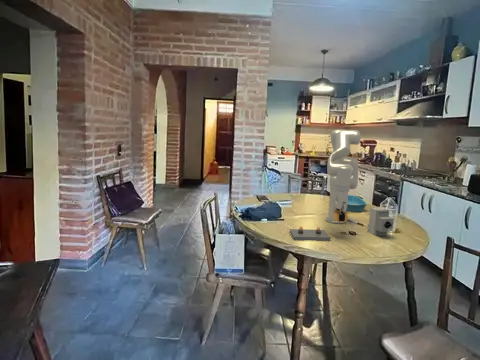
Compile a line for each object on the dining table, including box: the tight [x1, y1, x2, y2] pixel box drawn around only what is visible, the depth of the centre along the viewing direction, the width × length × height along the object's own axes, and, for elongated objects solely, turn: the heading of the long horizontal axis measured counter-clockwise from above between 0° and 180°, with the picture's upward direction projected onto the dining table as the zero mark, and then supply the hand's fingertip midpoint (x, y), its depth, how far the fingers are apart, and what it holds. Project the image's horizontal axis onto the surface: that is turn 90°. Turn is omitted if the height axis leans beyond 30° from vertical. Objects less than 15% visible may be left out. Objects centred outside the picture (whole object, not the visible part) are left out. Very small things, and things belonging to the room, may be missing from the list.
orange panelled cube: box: [333, 210, 348, 223], centre depth 196 cm, size 6×6×5 cm
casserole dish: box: [346, 194, 367, 213], centre depth 271 cm, size 37×22×7 cm, turn 177°
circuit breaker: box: [366, 206, 395, 237], centre depth 202 cm, size 8×14×15 cm, turn 15°
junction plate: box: [289, 226, 331, 242], centre depth 196 cm, size 14×20×6 cm
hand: (339, 219), depth 197 cm, fingers closed on orange panelled cube, 6 cm apart
